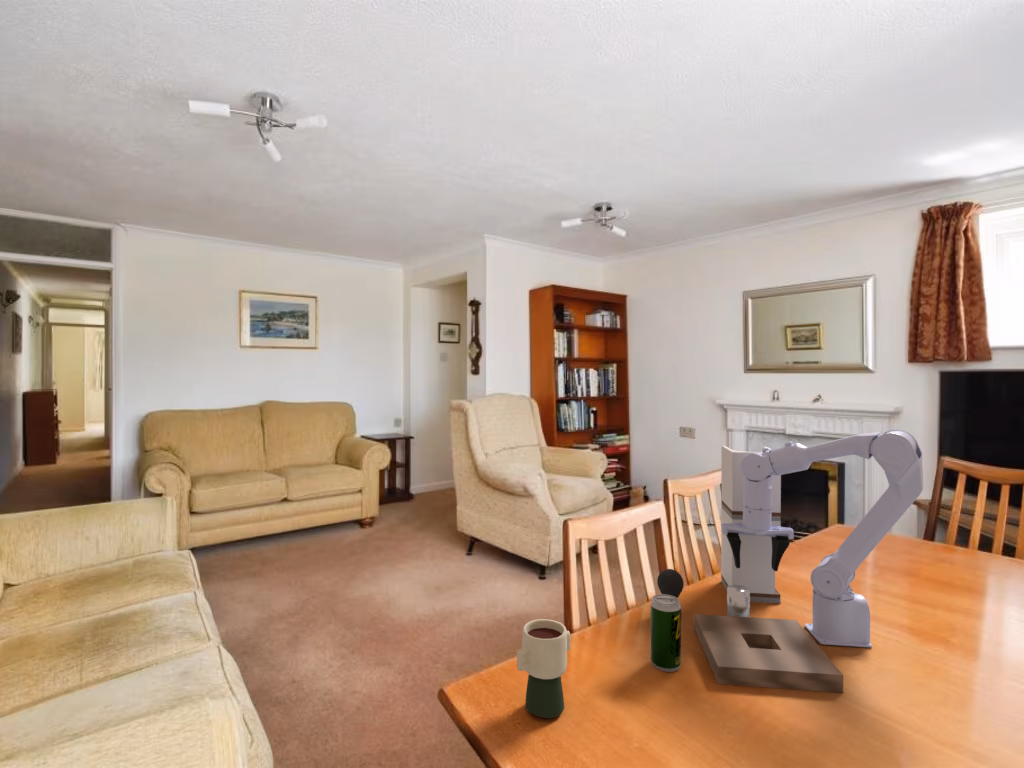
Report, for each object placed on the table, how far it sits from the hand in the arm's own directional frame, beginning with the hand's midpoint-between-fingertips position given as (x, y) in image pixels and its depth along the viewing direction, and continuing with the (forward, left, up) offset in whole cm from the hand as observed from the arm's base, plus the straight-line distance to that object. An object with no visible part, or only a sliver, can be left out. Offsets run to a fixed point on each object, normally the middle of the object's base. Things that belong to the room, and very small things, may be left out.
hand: (755, 568), depth 117 cm
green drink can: (+23, +23, -11) cm, 34 cm away
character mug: (+44, +39, -11) cm, 60 cm away
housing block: (+5, +18, -10) cm, 22 cm away
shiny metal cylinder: (+5, +4, -10) cm, 12 cm away
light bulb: (+19, +2, -11) cm, 22 cm away
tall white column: (-2, -13, -11) cm, 17 cm away
